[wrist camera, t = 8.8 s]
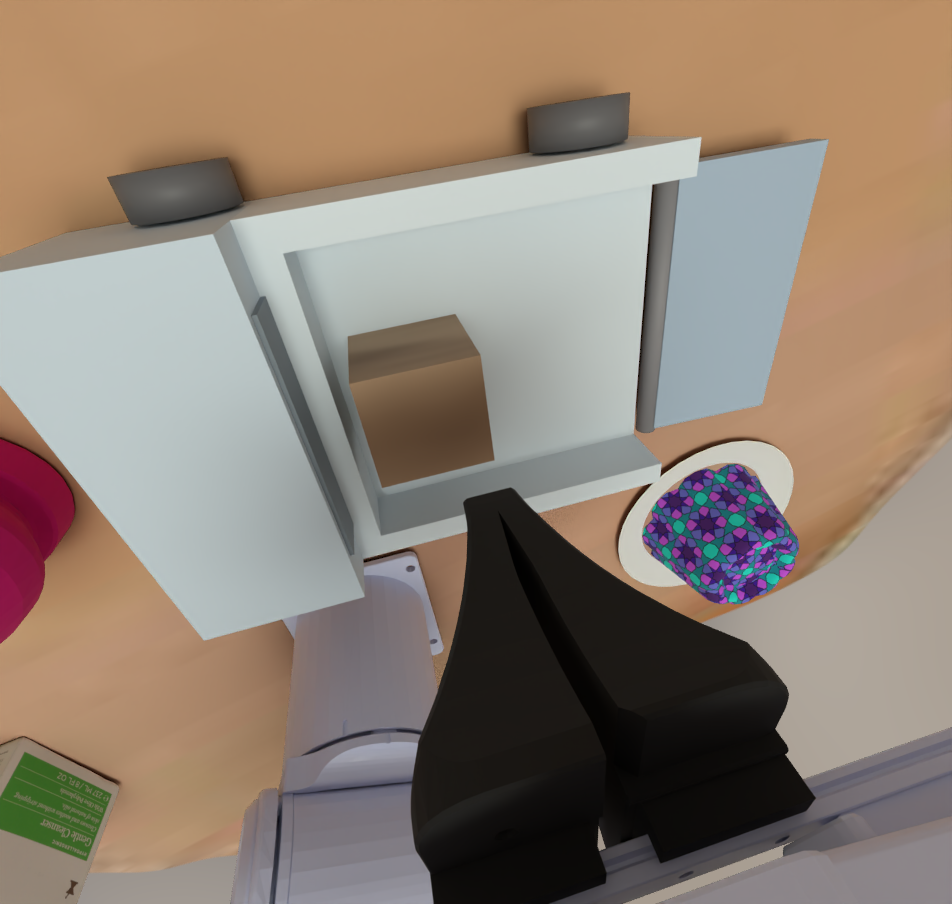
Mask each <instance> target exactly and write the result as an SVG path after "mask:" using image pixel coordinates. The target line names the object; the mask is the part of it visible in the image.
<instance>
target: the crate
mask: <svg viewBox="0 0 952 904" xmlns="http://www.w3.org/2000/svg"><path fill="white" fill-rule="evenodd" d="M348 371H349V386H350V389H351V393H352V396H353V399H354V402H355V405H356V408H357V411H358V414H359V418H360V421H361V424H362V427H363V430H364V433H365V436H366V439H367V443H368V446H369V449H370V452H371V455H372V458H373V461H374V464H375V468H376V471H377V474H378V477H379V480H380V483H381V486H382V488H385V487H389V486H393V485H397V484H401V483H405V482H409V481H413V480H417V479H421V478H425V477H429V476H433V475H437V474H441V473H445V472H449V471H453V470H458V469H462V468H466V467H470V466H474V465H478V464H482V463H486V462H490V461H494V460H495V459H494V451H493V444H492V436H491V429H490V422H489V414H488V407H487V399H486V392H485V384H484V377H483V369H482V362H481V355H480V353H479V352H478V350H477V348H476V347H475V345H474V344H473V342H472V340H471V339H470V337H469V335H468V334H467V332H466V331H465V329H464V327H463V326H462V324H461V322H460V321H459V319H458V318H457V316H456V314H452V315H448V316H443V317H438V318H433V319H429V320H424V321H419V322H414V323H409V324H405V325H400V326H395V327H390V328H386V329H381V330H376V331H371V332H366V333H362V334H357V335H352V336H348Z"/></svg>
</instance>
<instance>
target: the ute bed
mask: <svg viewBox="0 0 952 904" xmlns="http://www.w3.org/2000/svg"><path fill="white" fill-rule="evenodd" d="M629 105H630V92H628V93H621V94H613V95H607V96H600V97H593V98H587V99H580V100H574V101H568V102H562V103H555V104H549V105H543V106H538V107H532V108H527V120H528V138H529V153H524V154H518V155H512V156H506V157H501V158H495V159H489V160H483V161H478V162H472V163H466V164H460V165H454V166H449V167H443V168H437V169H431V170H426V171H420V172H414V173H408V174H403V175H397V176H391V177H385V178H379V179H374V180H368V181H362V182H356V183H351V184H345V185H339V186H333V187H328V188H322V189H316V190H310V191H305V192H299V193H293V194H287V195H281V196H276V197H270V198H264V199H258V200H253V201H247V202H243V199H242V196H241V194H240V191H239V188H238V185H237V183H236V180H235V177H234V175H233V172H232V169H231V167H230V164H229V161H228V158H227V157H225V158H218V159H211V160H205V161H198V162H192V163H186V164H180V165H174V166H168V167H162V168H156V169H150V170H144V171H138V172H132V173H127V174H121V175H116V176H111V177H107V178H108V180H109V182H110V184H111V186H112V188H113V190H114V192H115V194H116V196H117V198H118V200H119V202H120V204H121V206H122V208H123V210H124V212H125V214H126V216H127V218H128V220H129V222H126V223H120V224H114V225H108V226H103V227H97V228H91V229H85V230H80V231H74V232H68V233H64V234H61V235H59V236H56V237H53V238H51V239H48V240H45V241H42V242H40V243H37V244H34V245H32V246H29V247H26V248H24V249H21V250H18V251H16V252H13V253H10V254H7V255H5V256H2V257H0V386H1V387H2V388H3V389H4V391H5V392H6V393H7V394H8V396H9V397H10V398H11V399H12V401H13V402H14V403H15V404H16V406H17V407H18V408H19V409H20V411H21V412H22V413H23V414H24V416H25V417H26V418H27V419H28V421H29V422H30V423H31V424H32V426H33V427H34V428H35V429H36V431H37V432H38V433H39V434H40V436H41V437H42V438H43V439H44V441H45V442H46V443H47V444H48V446H49V447H50V448H51V449H52V451H53V452H54V453H55V455H56V456H57V457H58V458H59V460H60V461H61V462H62V463H63V465H64V466H65V467H66V468H67V470H68V471H69V472H70V473H71V475H72V476H73V477H74V478H75V480H76V481H77V482H78V483H79V485H80V486H81V487H82V488H83V490H84V491H85V492H86V493H87V495H88V496H89V497H90V498H91V500H92V501H93V502H94V503H95V505H96V506H97V507H98V508H99V510H100V511H101V512H102V513H103V515H104V516H105V517H106V518H107V520H108V521H109V522H110V523H111V525H112V526H113V527H114V528H115V530H116V531H117V532H118V533H119V535H120V536H121V537H122V538H123V540H124V541H125V542H126V543H127V545H128V546H129V547H130V548H131V550H132V551H133V552H134V554H135V555H136V556H137V557H138V559H139V560H140V561H141V562H142V564H143V565H144V566H145V567H146V569H147V570H148V571H149V572H150V574H151V575H152V576H153V577H154V579H155V580H156V581H157V582H158V584H159V585H160V586H161V587H162V589H163V590H164V591H165V592H166V594H167V595H168V596H169V597H170V599H171V600H172V601H173V602H174V604H175V605H176V606H177V607H178V609H179V610H180V611H181V612H182V614H183V615H184V616H185V617H186V619H187V620H188V621H189V622H190V624H191V625H192V626H193V627H194V629H195V630H196V631H197V632H198V634H199V635H200V636H201V637H202V639H203V640H208V639H212V638H216V637H219V636H223V635H227V634H230V633H234V632H238V631H241V630H245V629H249V628H252V627H256V626H260V625H263V624H267V623H271V622H274V621H278V620H282V619H285V618H289V617H293V616H296V615H300V614H304V613H308V612H311V611H315V610H319V609H322V608H326V607H330V606H333V605H337V604H341V603H344V602H348V601H352V600H355V599H359V598H363V597H365V584H364V564H363V559H365V558H369V557H373V556H376V555H380V554H384V553H388V552H392V551H396V550H399V549H403V548H407V547H411V546H415V545H418V544H422V543H426V542H430V541H434V540H437V539H441V538H445V537H449V536H453V535H456V534H460V533H464V532H467V521H466V516H465V511H464V506H463V502H464V501H465V500H466V498H470V497H474V496H478V495H482V494H486V493H490V492H494V491H498V490H502V489H506V488H510V487H511V488H513V489H515V490H516V492H517V493H518V494H519V495H520V496H521V497H522V498H523V500H524V501H525V502H526V503H527V504H528V505H529V506H530V507H531V508H532V509H533V510H534V511H535V512H536V513H540V512H544V511H548V510H552V509H555V508H559V507H563V506H567V505H571V504H574V503H578V502H582V501H586V500H590V499H594V498H597V497H601V496H605V495H609V494H613V493H616V492H620V491H624V490H628V489H632V488H635V487H639V486H643V485H647V484H651V483H654V482H658V481H660V474H661V465H662V463H661V462H660V461H659V460H658V459H657V458H656V457H655V456H654V455H653V454H652V453H651V452H650V451H649V450H648V449H647V448H646V447H645V446H644V444H643V443H642V442H641V441H640V440H639V439H638V438H637V437H636V436H635V435H634V421H635V407H636V394H637V381H638V367H639V354H640V341H641V327H642V314H643V301H644V287H645V274H646V261H647V247H648V234H649V221H650V207H651V194H652V184H658V183H663V182H668V181H674V180H679V179H685V178H690V177H695V176H697V170H698V162H699V154H700V145H701V137H675V136H628V126H629ZM452 314H456V316H457V318H458V319H459V321H460V322H461V324H462V326H463V327H464V329H465V331H466V332H467V334H468V335H469V337H470V339H471V340H472V342H473V344H474V345H475V347H476V348H477V350H478V352H479V353H480V355H481V362H482V369H483V377H484V384H485V392H486V399H487V407H488V414H489V422H490V429H491V436H492V444H493V451H494V459H495V460H494V461H490V462H486V463H482V464H478V465H474V466H470V467H466V468H462V469H458V470H453V471H449V472H445V473H441V474H437V475H433V476H429V477H425V478H421V479H417V480H413V481H409V482H405V483H401V484H397V485H393V486H389V487H385V488H382V486H381V483H380V480H379V477H378V474H377V471H376V468H375V464H374V461H373V458H372V455H371V452H370V449H369V446H368V443H367V439H366V436H365V433H364V430H363V427H362V424H361V421H360V418H359V414H358V411H357V408H356V405H355V402H354V399H353V396H352V393H351V389H350V386H349V371H348V336H352V335H357V334H362V333H366V332H371V331H376V330H381V329H386V328H390V327H395V326H400V325H405V324H409V323H414V322H419V321H424V320H429V319H433V318H438V317H443V316H448V315H452Z"/></svg>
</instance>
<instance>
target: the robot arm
mask: <svg viewBox="0 0 952 904" xmlns="http://www.w3.org/2000/svg"><path fill="white" fill-rule="evenodd" d="M463 506H464V511H465V516H466V521H467V562H466V571H465V580H464V588H463V595H462V601H461V607H460V612H459V617H458V622H457V626H456V630H455V634H454V638H453V642H452V646H451V650H450V654H449V657H448V661H447V664H446V667H445V670H444V673H443V676H442V679H441V682H440V685H439V688H437V682H436V676H435V670H434V665H433V659H432V656H433V655H437V654H439V653H441V652H442V651H443V649H444V647H443V643H442V639H441V636H440V632H439V629H438V626H437V622H436V619H435V616H434V612H433V609H432V605H431V602H430V599H429V595H428V592H427V589H426V585H425V582H424V578H423V575H422V572H421V568H420V565H419V562H418V558H417V555H416V554H415V553H414V552H410V551H409V552H404V553H400V554H396V555H392V556H389V557H385V558H381V559H377V560H373V561H370V562H366V563H363V564H364V584H365V597H363V598H359V599H355V600H352V601H348V602H344V603H341V604H337V605H333V606H330V607H326V608H322V609H319V610H315V611H311V612H308V613H304V614H300V615H296V616H293V617H289V618H285V619H282V620H283V622H284V623H285V625H286V627H287V628H288V630H289V632H290V633H291V635H292V637H293V638H294V651H293V662H292V673H291V683H290V694H289V705H288V715H287V726H286V737H285V747H284V758H283V769H282V776H281V780H280V784H279V789H278V790H277V788H269V789H264V790H262V791H261V792H260V794H259V797H258V799H255V800H254V801H253V802H252V804H251V805H250V806H249V807H248V808H247V809H246V810H245V814H244V819H243V825H242V831H241V837H240V843H239V849H238V855H237V862H236V869H235V875H234V881H233V888H232V895H231V902H230V904H623V903H626V902H629V901H632V900H634V899H637V898H640V897H643V896H645V895H648V894H651V893H654V892H656V891H659V890H662V889H664V888H667V887H670V886H673V885H675V884H678V883H681V882H683V881H686V880H689V879H692V878H694V877H697V876H700V875H703V874H705V873H708V872H711V871H714V870H716V869H719V868H722V867H724V866H727V865H730V864H732V863H735V862H738V861H741V860H744V859H746V858H749V857H752V856H754V855H757V854H760V853H762V852H765V851H768V850H771V849H774V848H776V847H779V846H782V845H784V844H787V843H790V842H792V843H790V844H788V845H786V846H785V847H784V848H783V857H781V858H778V859H776V860H773V861H771V862H768V863H765V864H762V865H759V866H757V867H754V868H751V869H749V870H746V871H743V872H741V873H738V874H735V875H733V876H730V877H727V878H724V879H722V880H719V881H717V882H714V883H711V884H708V885H705V886H703V887H700V888H697V889H695V890H692V891H689V892H686V893H684V894H681V895H678V896H676V897H673V898H670V899H668V900H665V901H662V902H660V903H657V904H952V727H951V728H948V729H945V730H942V731H939V732H937V733H934V734H931V735H928V736H925V737H922V738H919V739H917V740H914V741H911V742H908V743H905V744H902V745H899V746H897V747H894V748H891V749H888V750H885V751H882V752H880V753H877V754H874V755H871V756H868V757H865V758H863V759H860V760H857V761H854V762H851V763H848V764H845V765H843V766H840V767H837V768H834V769H831V770H828V771H826V772H823V773H820V774H817V775H814V776H811V777H808V778H806V779H802V778H801V776H800V775H799V774H798V772H797V771H796V769H795V768H794V767H793V765H792V764H791V762H790V761H789V759H788V758H787V756H786V755H785V754H787V752H788V747H787V745H786V744H785V742H784V741H783V739H782V738H781V737H780V735H779V734H778V732H777V731H776V730H775V728H776V726H777V724H778V722H779V720H780V718H781V716H782V714H783V712H784V710H785V708H786V705H787V702H788V696H789V693H788V690H787V687H786V685H785V684H784V683H783V682H782V680H781V679H780V678H779V677H778V675H777V674H776V673H775V672H774V670H773V669H772V668H771V667H770V666H769V665H768V664H767V662H766V661H765V660H764V659H763V658H762V657H761V656H760V655H759V654H758V653H757V652H756V651H755V650H754V649H753V648H752V647H751V646H750V645H749V644H748V643H747V642H745V641H743V640H740V639H738V638H735V637H733V636H730V635H728V634H726V633H723V632H721V631H718V630H716V629H713V628H711V627H709V626H706V625H704V624H701V623H699V622H697V621H695V620H693V619H691V618H689V617H686V616H684V615H682V614H680V613H678V612H676V611H674V610H672V609H670V608H669V607H667V606H665V605H663V604H661V603H659V602H657V601H656V600H654V599H652V598H650V597H648V596H646V595H645V594H643V593H641V592H639V591H637V590H636V589H634V588H633V587H631V586H629V585H628V584H626V583H624V582H623V581H621V580H620V579H618V578H617V577H615V576H614V575H612V574H611V573H609V572H608V571H606V570H605V569H603V568H602V567H600V566H599V565H598V564H596V563H595V562H593V561H592V560H591V559H589V558H588V557H587V556H585V555H584V554H583V553H582V552H580V551H579V550H578V549H576V548H575V547H574V546H573V545H571V544H570V543H569V542H568V541H567V540H565V539H564V538H563V537H562V536H561V535H560V534H559V533H558V532H556V531H555V530H554V529H553V528H552V527H551V526H550V525H549V524H547V523H546V522H545V521H544V520H543V519H542V518H541V517H540V516H539V515H538V514H537V513H536V512H535V511H534V510H533V509H532V508H531V507H530V506H529V505H528V504H527V503H526V502H525V501H524V500H523V498H522V497H521V496H520V495H519V494H518V493H517V492H516V490H515V489H513V488H511V487H510V488H506V489H502V490H498V491H494V492H490V493H486V494H482V495H478V496H474V497H470V498H466V500H465V501H464V502H463ZM410 565H413V566H411V567H407V566H410ZM598 826H599V828H600V831H601V834H602V837H603V841H604V844H605V847H606V849H603V850H601V851H599V850H598V847H597V844H598ZM793 841H794V842H793Z"/></svg>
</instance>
